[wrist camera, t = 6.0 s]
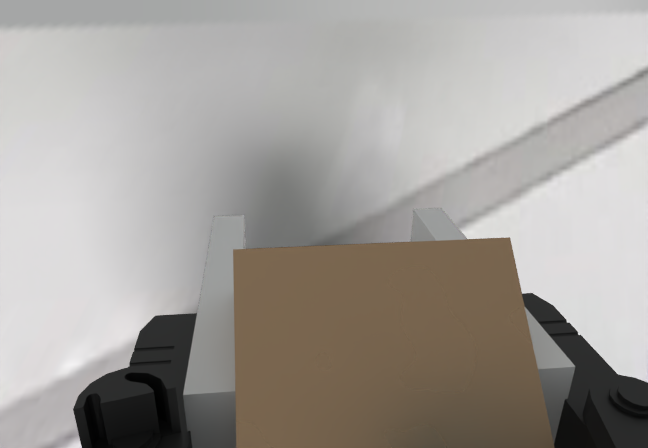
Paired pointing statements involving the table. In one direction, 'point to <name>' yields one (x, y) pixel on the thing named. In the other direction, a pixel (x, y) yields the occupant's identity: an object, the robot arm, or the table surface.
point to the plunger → (385, 348)
